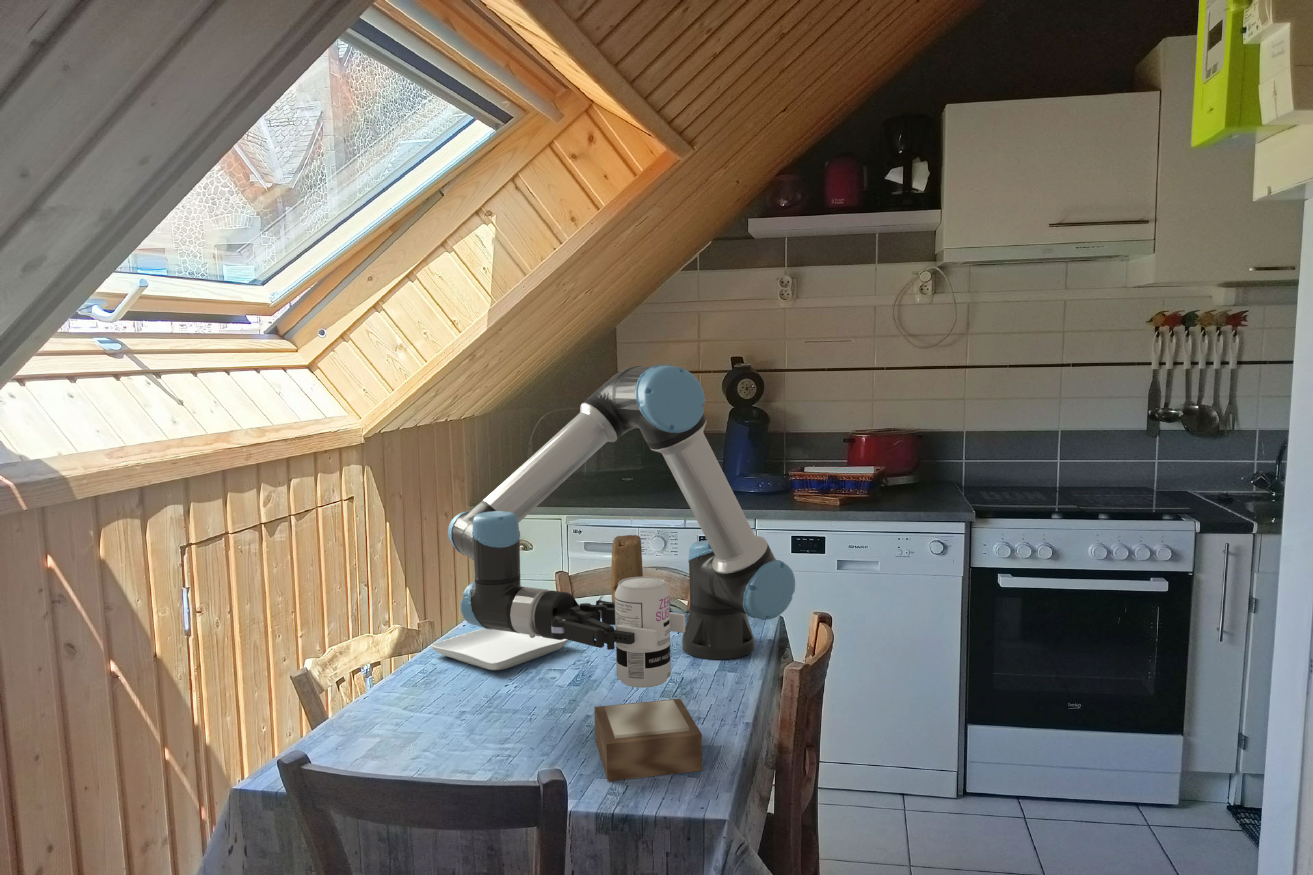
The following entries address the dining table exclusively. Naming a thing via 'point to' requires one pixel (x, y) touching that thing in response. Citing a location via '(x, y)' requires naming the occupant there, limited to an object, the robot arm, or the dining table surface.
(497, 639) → the salad plate
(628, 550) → the block
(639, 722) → the walnut pedestal
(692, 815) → the dining table surface
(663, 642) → the supplement can
